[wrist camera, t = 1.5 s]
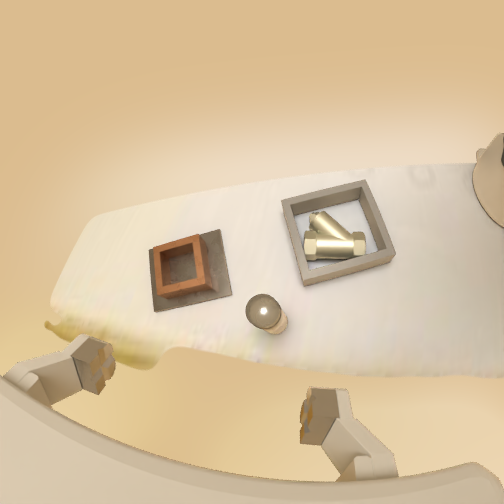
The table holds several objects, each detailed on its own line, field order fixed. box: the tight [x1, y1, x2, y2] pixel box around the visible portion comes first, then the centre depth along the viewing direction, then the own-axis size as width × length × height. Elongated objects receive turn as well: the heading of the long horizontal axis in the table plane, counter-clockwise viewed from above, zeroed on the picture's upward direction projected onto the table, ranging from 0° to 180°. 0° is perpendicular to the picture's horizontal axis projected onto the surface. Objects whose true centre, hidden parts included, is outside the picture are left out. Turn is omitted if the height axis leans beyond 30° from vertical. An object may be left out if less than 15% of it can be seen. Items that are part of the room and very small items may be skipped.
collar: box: [149, 229, 232, 312], centre depth 41 cm, size 12×10×4 cm
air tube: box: [246, 294, 288, 334], centre depth 32 cm, size 3×3×11 cm
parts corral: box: [281, 180, 396, 286], centre depth 38 cm, size 12×12×4 cm
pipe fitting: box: [304, 211, 366, 260], centre depth 38 cm, size 8×4×7 cm
